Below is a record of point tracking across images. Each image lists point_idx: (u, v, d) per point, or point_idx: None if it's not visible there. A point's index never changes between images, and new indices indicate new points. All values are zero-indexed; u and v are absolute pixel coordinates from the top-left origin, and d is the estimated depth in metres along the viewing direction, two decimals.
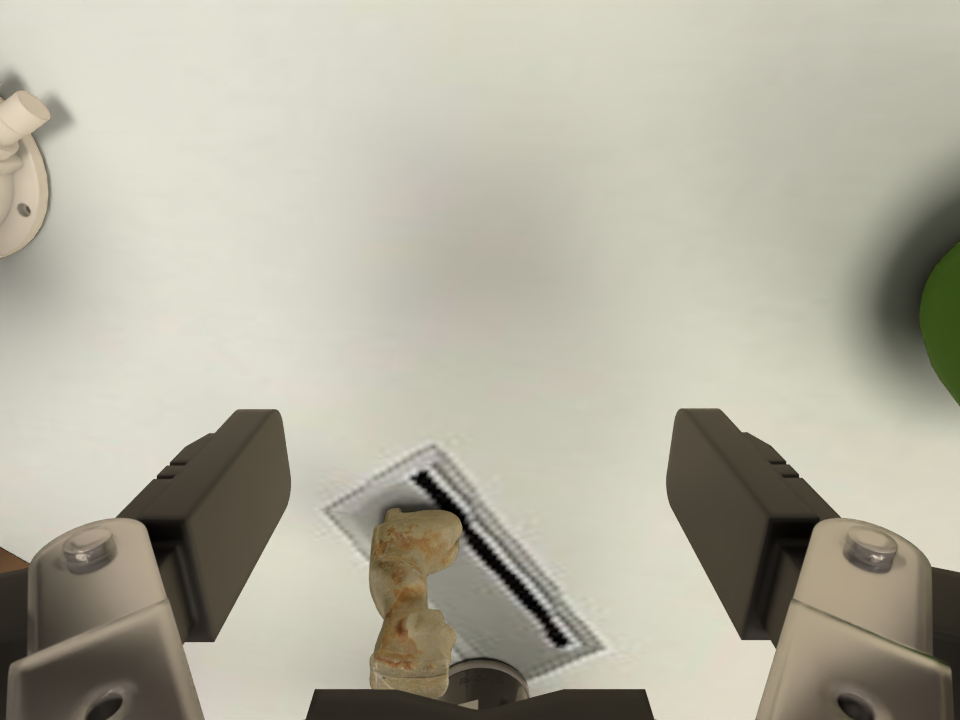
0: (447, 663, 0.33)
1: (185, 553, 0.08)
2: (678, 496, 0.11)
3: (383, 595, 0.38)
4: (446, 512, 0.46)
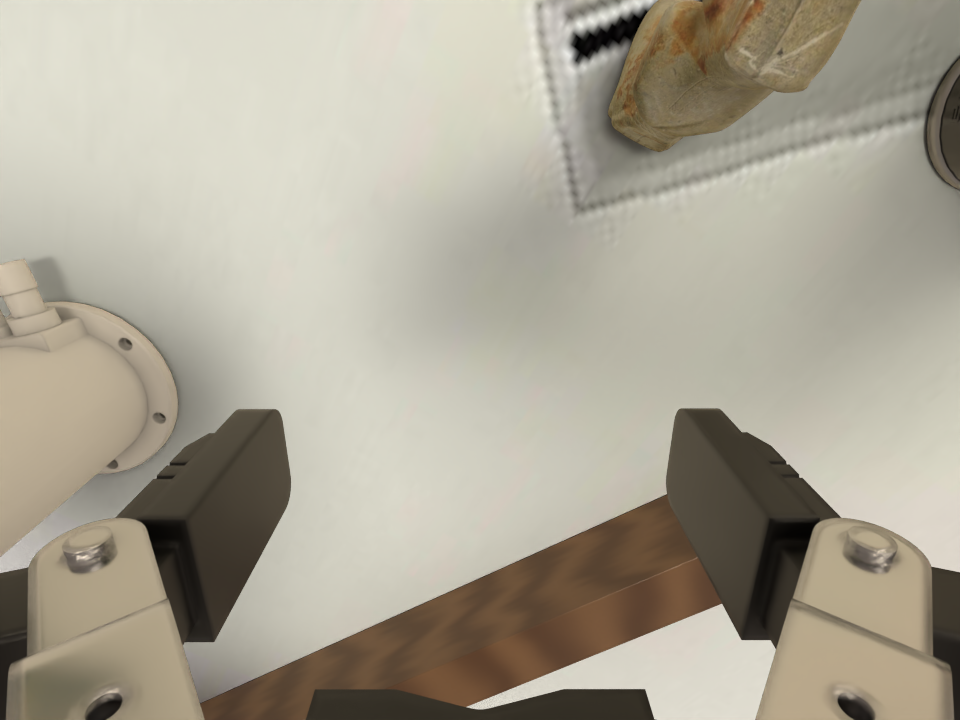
0: None
1: (185, 553, 0.08)
2: (678, 496, 0.11)
3: (680, 86, 0.23)
4: (644, 17, 0.29)
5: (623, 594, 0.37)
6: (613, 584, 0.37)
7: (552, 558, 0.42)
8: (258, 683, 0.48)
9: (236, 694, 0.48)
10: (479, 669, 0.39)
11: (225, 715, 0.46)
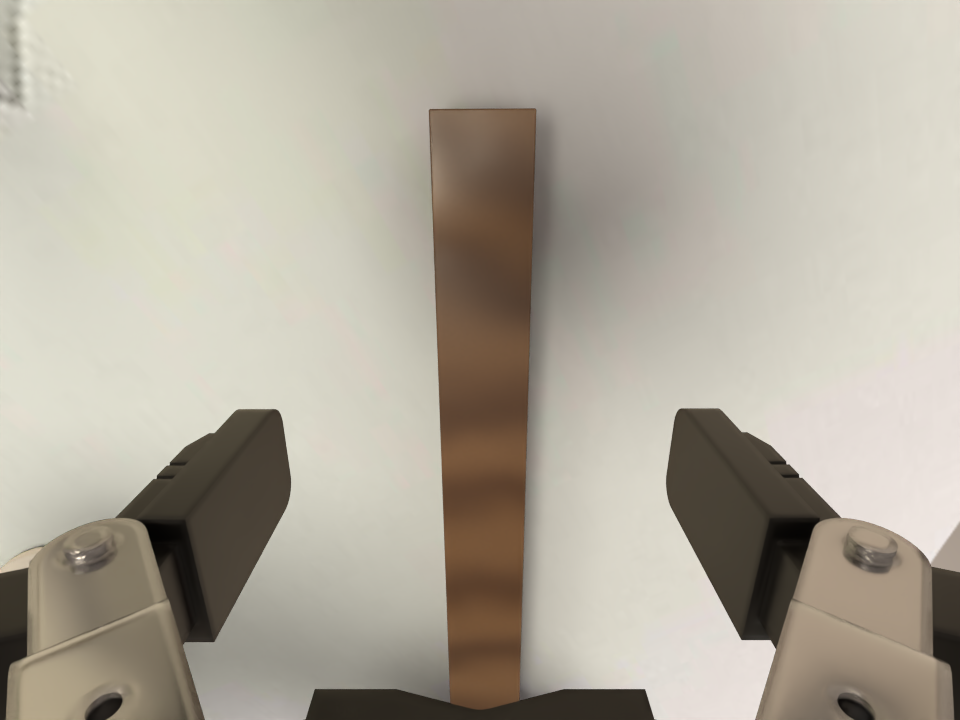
0: None
1: (185, 553, 0.08)
2: (678, 496, 0.11)
3: None
4: None
5: (444, 294, 0.26)
6: None
7: None
8: None
9: None
10: (474, 501, 0.30)
11: None
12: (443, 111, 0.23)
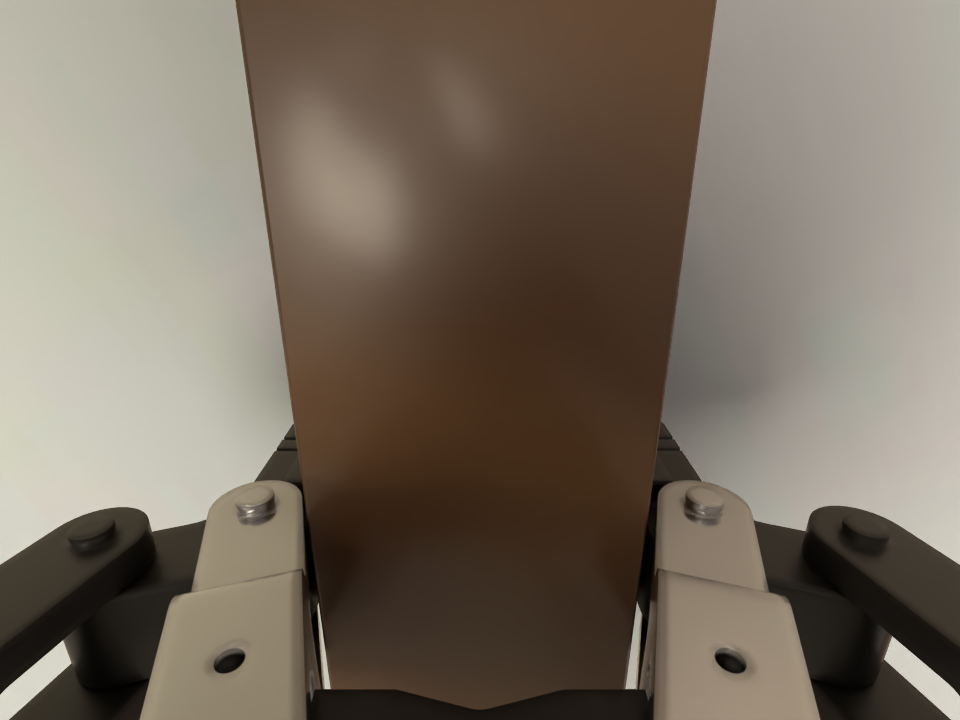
0: None
1: None
2: None
3: None
4: None
5: (350, 636, 0.08)
6: None
7: None
8: None
9: None
10: None
11: None
12: None
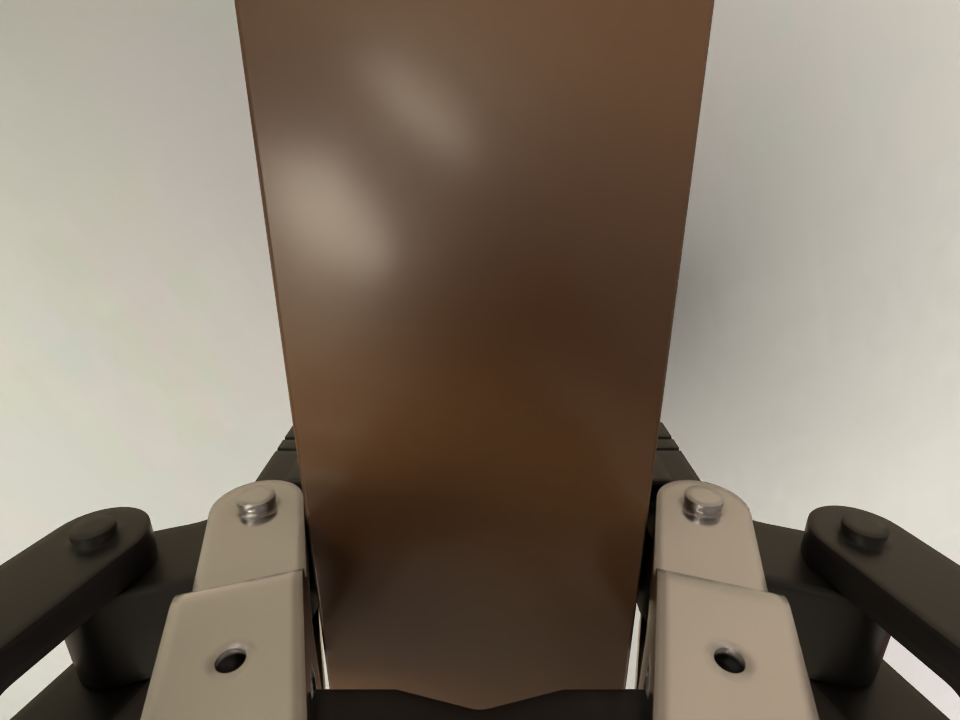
0: None
1: None
2: None
3: None
4: None
5: (349, 639, 0.08)
6: None
7: None
8: None
9: None
10: None
11: None
12: (297, 3, 0.05)
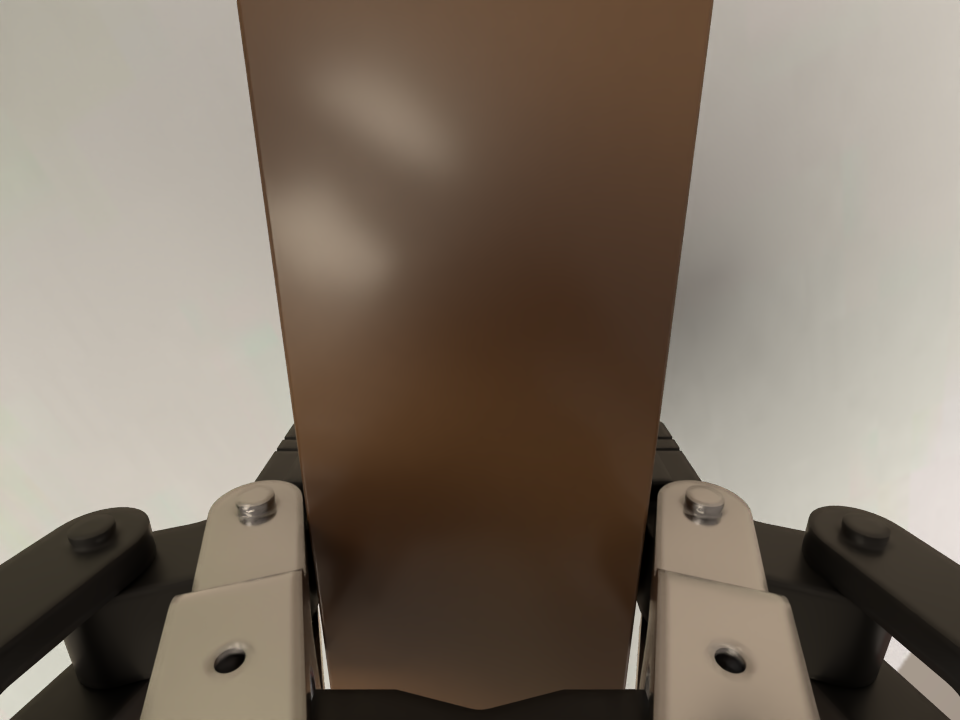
0: None
1: None
2: None
3: None
4: None
5: (350, 637, 0.08)
6: None
7: None
8: None
9: None
10: None
11: None
12: (299, 4, 0.05)
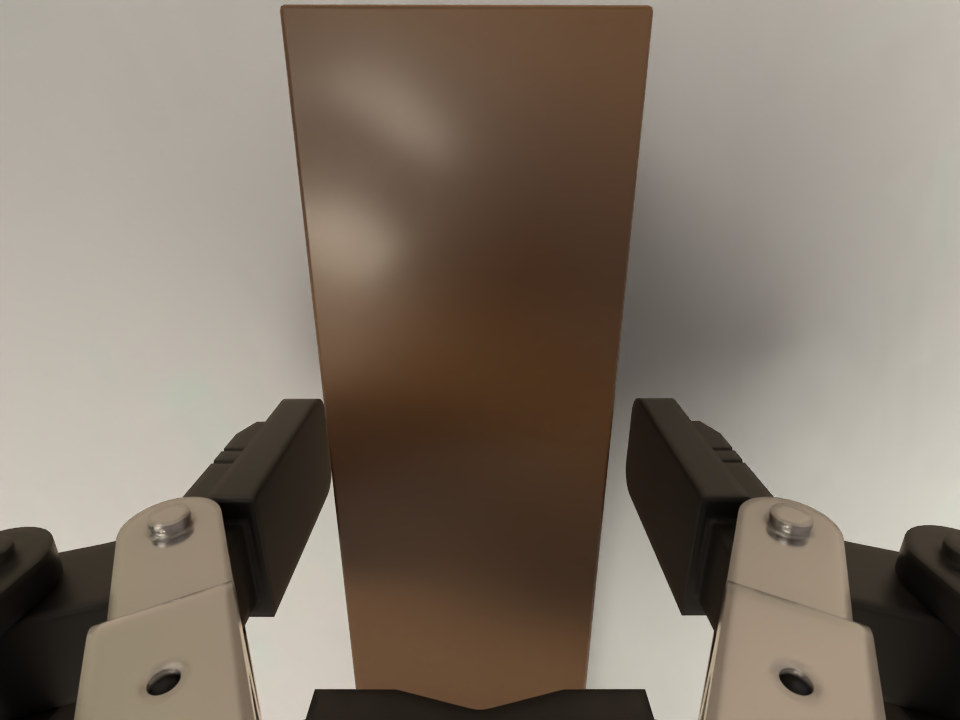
0: None
1: (251, 531, 0.08)
2: (635, 483, 0.11)
3: None
4: None
5: (362, 543, 0.09)
6: None
7: None
8: None
9: None
10: None
11: None
12: (329, 12, 0.07)
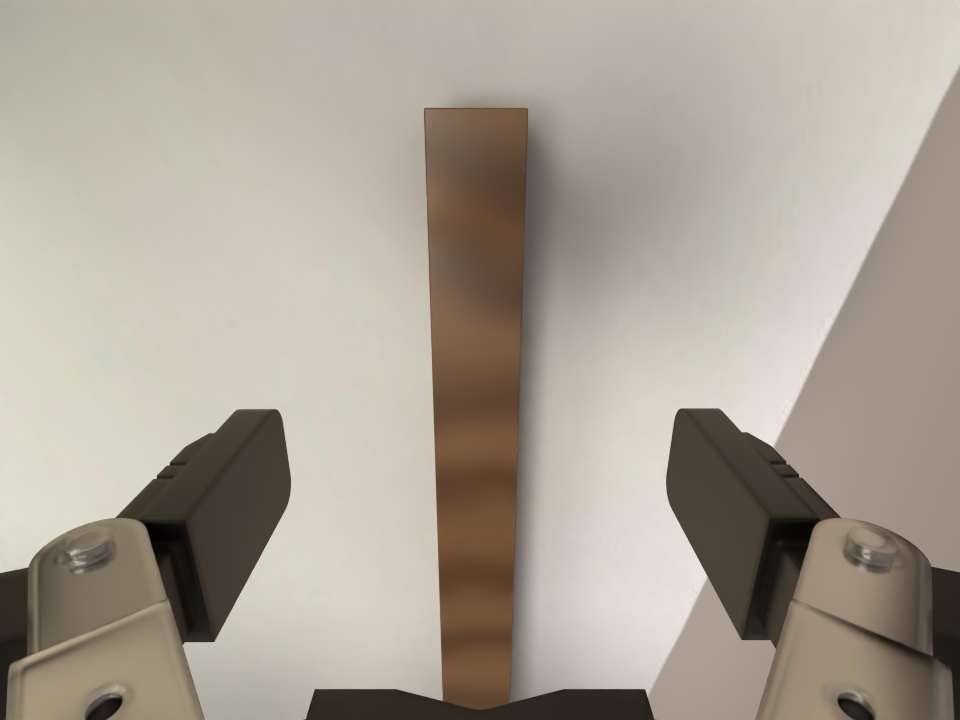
0: None
1: (185, 553, 0.08)
2: (678, 496, 0.11)
3: None
4: None
5: (438, 288, 0.27)
6: None
7: None
8: None
9: None
10: (466, 492, 0.31)
11: None
12: (438, 110, 0.24)
